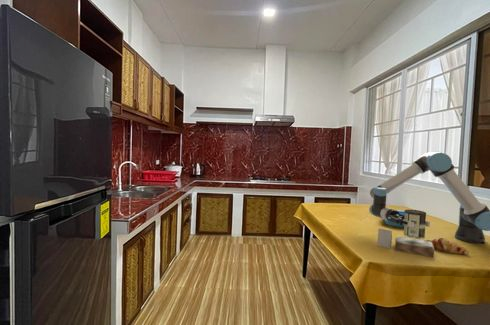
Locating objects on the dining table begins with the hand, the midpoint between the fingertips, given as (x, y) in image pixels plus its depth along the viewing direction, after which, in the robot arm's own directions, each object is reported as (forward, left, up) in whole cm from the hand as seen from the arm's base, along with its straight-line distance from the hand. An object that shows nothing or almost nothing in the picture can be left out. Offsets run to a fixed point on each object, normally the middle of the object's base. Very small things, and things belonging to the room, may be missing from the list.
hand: (421, 224), depth 145 cm
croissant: (-13, -15, -16) cm, 26 cm away
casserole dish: (+10, -69, -16) cm, 72 cm away
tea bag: (+17, -1, -16) cm, 24 cm away
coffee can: (+3, -3, -8) cm, 9 cm away
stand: (+3, -3, -16) cm, 17 cm away
